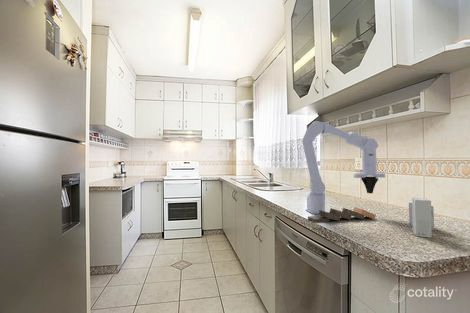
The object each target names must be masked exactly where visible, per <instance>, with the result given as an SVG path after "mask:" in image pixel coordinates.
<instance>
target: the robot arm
mask: <svg viewBox="0 0 470 313" xmlns="http://www.w3.org/2000/svg"><path fill="white" fill-rule="evenodd" d="M320 134H321V135H332V136H335V137H338V138H340V139H343V140H345V142H346V144H349V145H351V146H354V147H356V148H359V149H360V150H361V152H362V154H361V155H362V156H361V159H362V161H361V162H362V165H361V167H362V171H361V172H362V173H359V172H358V173H354V174H353V178H354V179H360V178H361V179H360V180H361V181H362V183H363V185H364V187H365V191H366V193H367V194H373V193H374V189H375V187H376V184H377V182H378V181H379V178H384V179H385V178H386V173H382V172H379V173H378V172H377V149H378V147H379V144H378V141H377V140H376V139H375V138H372V137H370V138H368V136H367V135H362V134H358V132H357V131H350V132H347V131H344V130H342V129H339V128H337V127H335V126H333V125H330V124H328V123H326V122H321V121H319V120H317V121H316V120H315V121H313V122H312V123H310V124H309V126H307V129H306V131H305V133H304V135H303V138H302V140H301V143H302V147H303V152H304V156H305V160H306V164H307V165H306V166H307V170H308V173H309V180H310V183H309V189H310V191H309V193H308V195H307V197H306V208H305V211H306V212H309V213H311V214H314V215H316V214H317V215H318V214H319V210H321V211H325V212H328V213H329V212H330V211H326V193H325V191H326V185H325V183H324V182H323V181H322V177H321V174H320V170H319V166H318V162H317V157H316V153H315V149H314V145H313V143H314V141H315V139H317V137H319V135H320Z"/></svg>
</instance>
